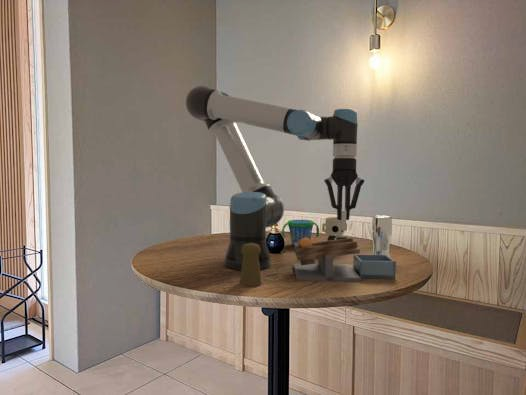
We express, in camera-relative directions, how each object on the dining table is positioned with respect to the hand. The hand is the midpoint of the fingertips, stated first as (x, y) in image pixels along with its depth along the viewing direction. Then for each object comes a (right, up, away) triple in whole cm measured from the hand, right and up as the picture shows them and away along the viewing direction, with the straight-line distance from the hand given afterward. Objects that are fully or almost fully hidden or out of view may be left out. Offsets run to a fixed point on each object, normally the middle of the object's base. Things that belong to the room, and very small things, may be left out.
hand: (342, 229), depth 130 cm
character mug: (+1, -10, +22) cm, 24 cm away
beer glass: (+16, -11, +12) cm, 23 cm away
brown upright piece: (-30, -13, -22) cm, 39 cm away
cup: (+7, -13, -10) cm, 18 cm away
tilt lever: (-7, -8, -6) cm, 12 cm away
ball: (-13, -4, -10) cm, 17 cm away
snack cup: (-11, -9, +34) cm, 37 cm away
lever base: (-7, -12, -10) cm, 18 cm away
